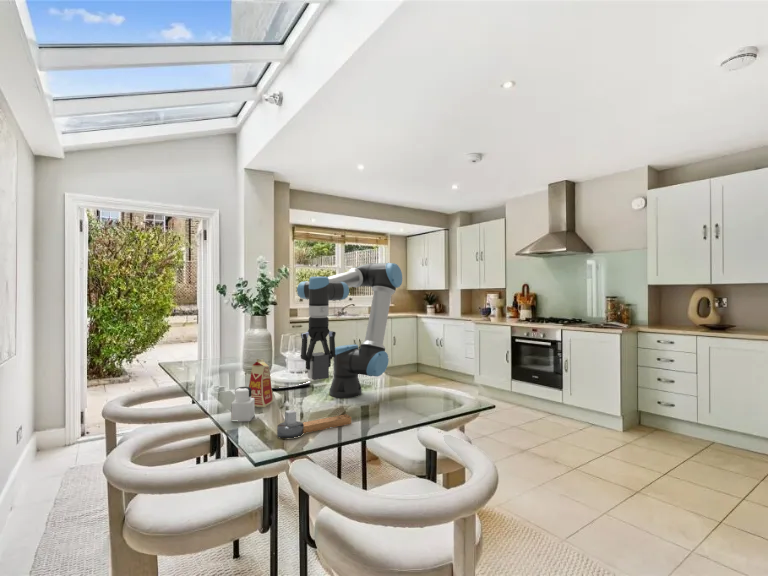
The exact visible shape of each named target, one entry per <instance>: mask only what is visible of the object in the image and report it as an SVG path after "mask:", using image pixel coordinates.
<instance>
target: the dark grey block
mask: <svg viewBox="0 0 768 576" xmlns="http://www.w3.org/2000/svg"><path fill="white" fill-rule="evenodd" d="M311 361H313V362H312V379H311V380H313V381H316V380H317V381H318V380H324V379H329V377H330V373H329V372H330V367H329V354H326V353H325V352H324V351H321V352H313V354H312V357H311Z"/></svg>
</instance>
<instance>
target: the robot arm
mask: <svg viewBox="0 0 768 576" xmlns="http://www.w3.org/2000/svg"><path fill="white" fill-rule="evenodd" d="M402 283H403V272H402V270H401V268H400V266H399V265H398V263H395V262H394V263H393V262H392V263H391V262H382V263H381V262H380V263H379V262H378V263H376V262H375V263H372V262H371V263H366V264H362V265H359V266H355V267H352V268H350V269H348V271H346V272H340V273H337V274H333V275H329V276H310V277H309V281H308V280H306V281H300V282H299V284H298V285H297V287H296V288H297V290H296V291H297V295H298V297H299V298H300V299H305V300H307V301H308V316H309V318H308V330H307V331H306V332H304V333H303V332H302V333H300V338H301V348H300V349H301V350H300V359H301V360H303V361H304V362H305V370H307V378H308V379H309V380H310V379H311V380H313V379H312V362H313V361H311V357H312V354H313V353H314V350H315V346H316V344H317V342H321V345H322V348H323V353H326V354H329V368H331V366H332V365H331V364H332V362H331V360H333V378H332V382H331V385H330V389H329V395H330V397H334V398H340V399H342V398H343V399H351V398H356V397H359V396H362V393H363V392H362V391H363V389H362V385H361V382H360V379H359V375H360V376H361V375H363V376H366V377H367V376H368V377H380V376H382V375H383V374H384V373H385V372H386V370H387V368H388V365H389V359H390V358H389V354H388V352H387V351H386V347H385V346H384V340H385V334H386V329H387V322H388V317H389V312H390V311H389V310H390V307H391V306H390V305H391V301H392V295H394V294H395V293H396V291H397V290H396V289H397V288H400V287H401V286H402ZM352 287H353V288H359V287H370V288H371V290H372V291H373V293H372V301H371V304H370V305H371V306H370V310H369V318H368V322H367V326H366V332H365V336H364V337H365V338H364V341H363V342H362V343H360V346H359V345H358V344H345V345H338V346H336V341H335V339H336V338H335V337H336V333H337V332H336V331H333V330H332V331H331V330H330V328H329V310H330V309H329V305H330V304H329V301H341V300H346V299H347V298H348V297H349V295H350V289H349V288H352ZM309 337H310V339H309V344H308V338H309ZM327 337H328V338H327ZM327 339H329V340H327ZM328 341H329V343H328Z"/></svg>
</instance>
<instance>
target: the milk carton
mask: <svg viewBox="0 0 768 576" xmlns="http://www.w3.org/2000/svg"><path fill="white" fill-rule="evenodd" d="M270 375H271V370H270V366H269V365H268V364H267V363H266V362H265V359H260V358H259V359H258V358H256V362H254V363H253V364H252V365H251V371H250V377H249V383H248V387H250V388H251V398H254V399H255V404H254V408H255V407H257V408H266V407H267V406H269V405H271V404H272V403H273V402H274V393H273V390H272V383H271V376H270Z"/></svg>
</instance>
